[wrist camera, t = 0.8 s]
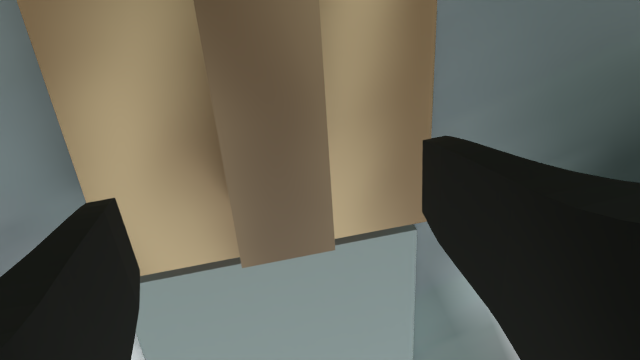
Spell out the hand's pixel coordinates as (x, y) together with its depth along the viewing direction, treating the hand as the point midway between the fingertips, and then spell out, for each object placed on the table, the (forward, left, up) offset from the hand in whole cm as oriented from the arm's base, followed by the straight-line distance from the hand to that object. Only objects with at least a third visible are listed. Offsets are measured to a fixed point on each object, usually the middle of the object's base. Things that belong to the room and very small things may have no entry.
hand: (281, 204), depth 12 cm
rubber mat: (0, +15, -9) cm, 18 cm away
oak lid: (0, 0, -7) cm, 7 cm away
